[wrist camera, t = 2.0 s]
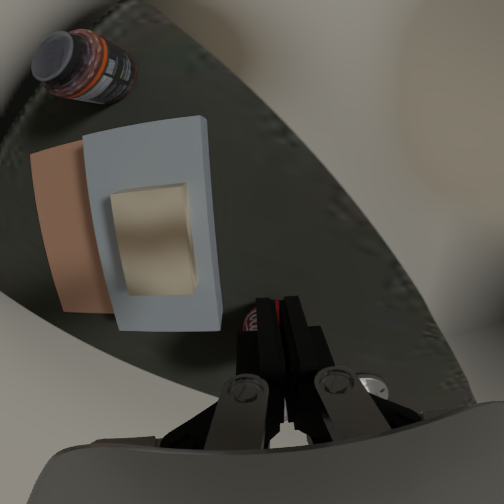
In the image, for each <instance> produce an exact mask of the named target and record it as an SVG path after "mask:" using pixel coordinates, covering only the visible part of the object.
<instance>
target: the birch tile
mask: <svg viewBox="0 0 504 504" xmlns="http://www.w3.org/2000/svg"><path fill="white" fill-rule="evenodd" d="M110 198H111V205H112V212H113V218H114V224H115V230H116V236H117V242H118V247H119V252H120V257H121V262H122V267H123V271H124V276H125V280H126V285H127V289H128V293H129V296H143V295H187V294H194V292H195V289H196V286H197V283H198V278H197V271H196V263H195V255H194V247H193V238H192V230H191V220H190V211H189V201H188V190H187V183H178V184H168V185H158V186H149V187H141V188H132V189H125V190H120V191H118V192H115V193H113V194H111V195H110Z"/></svg>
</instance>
